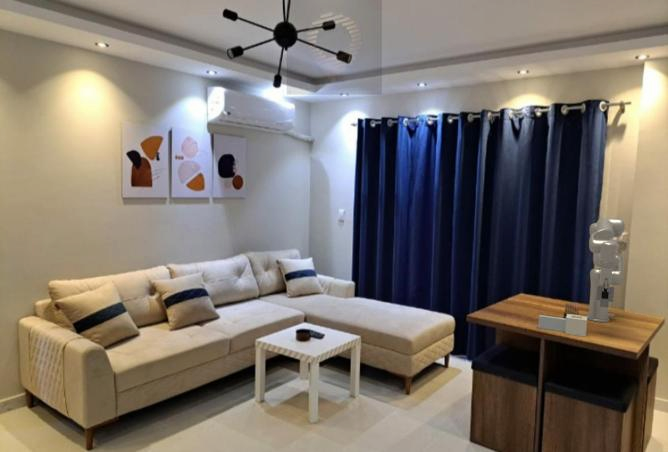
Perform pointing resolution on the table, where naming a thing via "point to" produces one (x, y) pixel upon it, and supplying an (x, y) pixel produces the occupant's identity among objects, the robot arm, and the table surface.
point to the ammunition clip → (570, 309)
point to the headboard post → (565, 324)
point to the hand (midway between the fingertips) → (604, 297)
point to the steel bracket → (605, 301)
